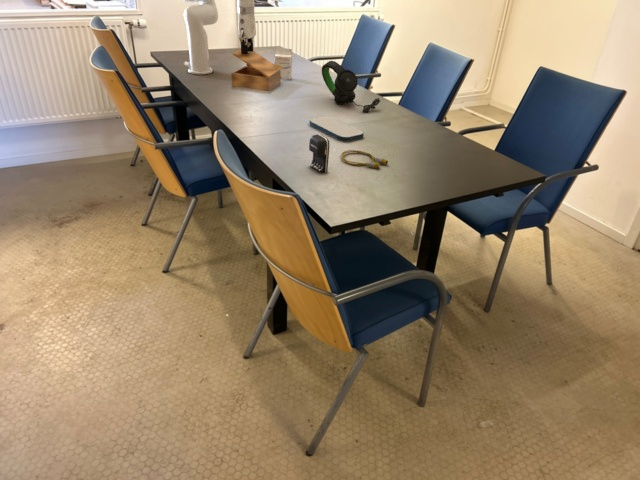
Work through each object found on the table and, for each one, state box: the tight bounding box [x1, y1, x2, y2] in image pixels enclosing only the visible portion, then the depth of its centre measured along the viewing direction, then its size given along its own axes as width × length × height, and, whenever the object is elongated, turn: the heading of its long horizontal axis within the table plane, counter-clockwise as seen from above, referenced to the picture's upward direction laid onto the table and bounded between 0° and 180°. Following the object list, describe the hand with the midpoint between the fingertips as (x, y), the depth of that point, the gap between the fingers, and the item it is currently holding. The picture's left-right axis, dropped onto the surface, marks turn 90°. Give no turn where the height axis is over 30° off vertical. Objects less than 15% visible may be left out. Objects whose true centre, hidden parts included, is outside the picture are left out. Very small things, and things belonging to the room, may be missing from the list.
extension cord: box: [341, 149, 389, 169], centre depth 168 cm, size 12×16×2 cm
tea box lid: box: [232, 42, 281, 78], centre depth 231 cm, size 20×16×5 cm
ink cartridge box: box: [273, 47, 293, 80], centre depth 249 cm, size 9×5×15 cm, turn 84°
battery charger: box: [308, 133, 330, 174], centre depth 157 cm, size 7×4×11 cm, turn 34°
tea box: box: [230, 65, 282, 92], centre depth 237 cm, size 19×16×7 cm
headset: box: [321, 60, 381, 113], centre depth 217 cm, size 18×14×29 cm
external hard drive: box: [309, 115, 364, 142], centre depth 191 cm, size 24×12×2 cm, turn 37°
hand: (247, 52), depth 232 cm, fingers closed on tea box lid, 5 cm apart
